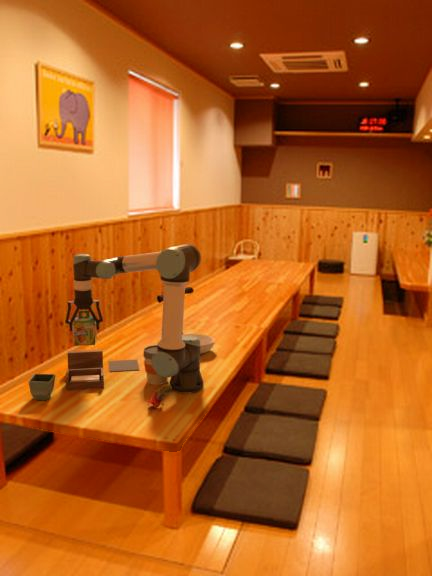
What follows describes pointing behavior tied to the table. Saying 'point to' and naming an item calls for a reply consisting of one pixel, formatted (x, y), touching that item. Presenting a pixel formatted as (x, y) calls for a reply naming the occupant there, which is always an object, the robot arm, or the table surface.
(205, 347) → the serving bowl
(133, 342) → the table surface
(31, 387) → the flower pot
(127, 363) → the rubber mat
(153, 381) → the reusable coffee cup
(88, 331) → the chalk box
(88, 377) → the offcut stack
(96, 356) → the walnut rack
